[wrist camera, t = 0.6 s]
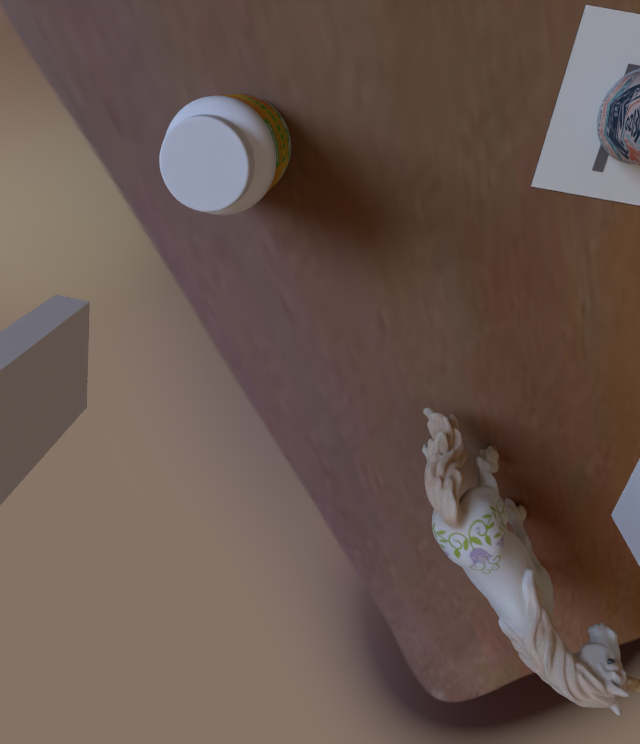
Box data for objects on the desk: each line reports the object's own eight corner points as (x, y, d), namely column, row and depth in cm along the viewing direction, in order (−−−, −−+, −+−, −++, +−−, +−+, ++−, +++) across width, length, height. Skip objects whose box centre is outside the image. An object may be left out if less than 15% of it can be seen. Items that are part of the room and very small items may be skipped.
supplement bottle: (311, 155, 35) (291, 180, 26) (239, 211, 37) (199, 251, 28) (252, 72, 33) (210, 68, 24) (180, 134, 35) (116, 151, 26)
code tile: (585, 5, 31) (586, 5, 31) (760, 36, 31) (761, 35, 31) (530, 186, 35) (531, 186, 35) (686, 213, 35) (686, 214, 35)
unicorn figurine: (546, 594, 48) (605, 766, 36) (360, 451, 43) (356, 593, 31) (621, 542, 45) (713, 710, 33) (431, 384, 41) (457, 511, 29)
